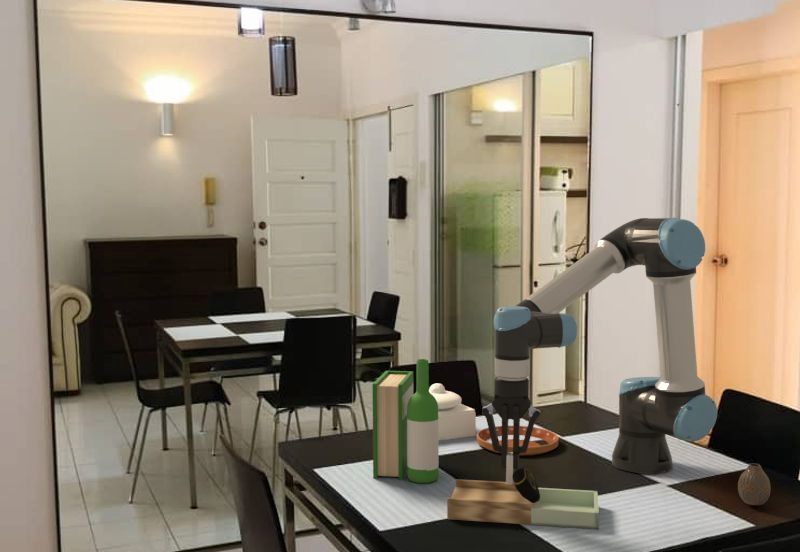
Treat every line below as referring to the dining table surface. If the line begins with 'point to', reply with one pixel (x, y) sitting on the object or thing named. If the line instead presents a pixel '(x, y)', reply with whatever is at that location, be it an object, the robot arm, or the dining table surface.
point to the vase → (754, 485)
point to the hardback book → (391, 423)
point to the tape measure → (526, 485)
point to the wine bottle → (422, 430)
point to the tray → (566, 509)
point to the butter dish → (453, 415)
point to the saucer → (532, 446)
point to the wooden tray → (488, 502)
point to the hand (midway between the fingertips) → (509, 482)
